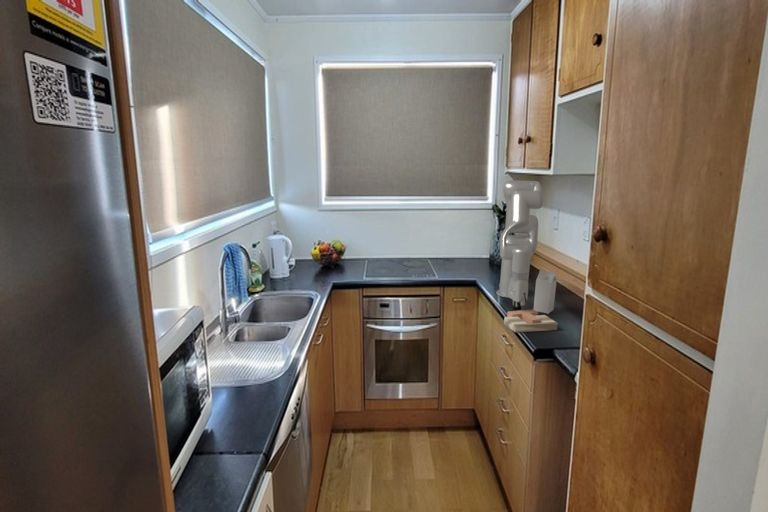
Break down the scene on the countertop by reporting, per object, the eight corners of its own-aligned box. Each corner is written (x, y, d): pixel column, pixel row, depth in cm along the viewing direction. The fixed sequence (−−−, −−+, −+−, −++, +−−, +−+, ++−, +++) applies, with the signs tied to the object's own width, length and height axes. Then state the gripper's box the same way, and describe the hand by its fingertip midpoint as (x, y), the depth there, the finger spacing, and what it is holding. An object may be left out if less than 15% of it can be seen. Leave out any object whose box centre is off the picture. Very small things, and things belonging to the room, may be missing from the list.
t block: (506, 320, 193) (507, 311, 192) (532, 317, 197) (532, 309, 196) (522, 330, 182) (523, 321, 181) (549, 327, 185) (549, 318, 184)
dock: (504, 323, 189) (504, 317, 188) (544, 321, 192) (544, 314, 191) (514, 332, 179) (515, 325, 178) (557, 329, 182) (557, 323, 182)
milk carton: (538, 307, 211) (542, 269, 207) (553, 310, 207) (557, 271, 203) (533, 310, 206) (536, 271, 202) (548, 314, 201) (552, 274, 197)
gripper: (504, 271, 200) (501, 309, 204) (520, 280, 185) (516, 320, 189) (519, 271, 201) (516, 308, 205) (536, 279, 187) (532, 320, 191)
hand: (516, 314), depth 197 cm, fingers closed
